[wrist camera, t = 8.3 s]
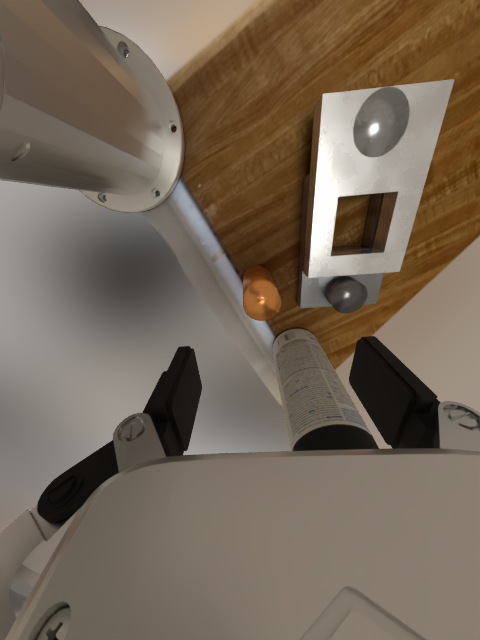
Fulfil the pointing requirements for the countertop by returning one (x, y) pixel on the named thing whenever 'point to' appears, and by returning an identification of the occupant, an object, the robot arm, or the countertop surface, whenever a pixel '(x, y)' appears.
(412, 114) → the plate with square hole
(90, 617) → the robot arm
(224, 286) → the countertop surface
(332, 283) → the plate
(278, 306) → the pin
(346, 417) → the spray can
